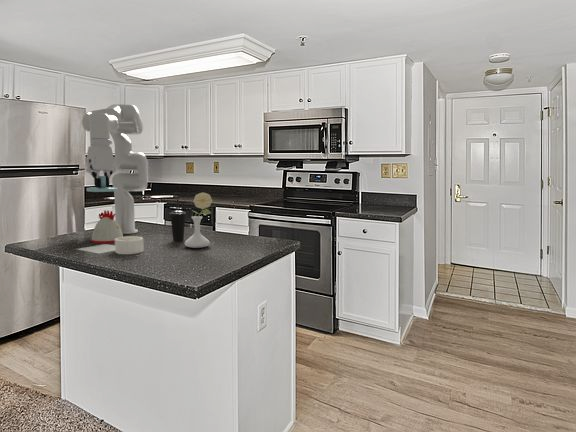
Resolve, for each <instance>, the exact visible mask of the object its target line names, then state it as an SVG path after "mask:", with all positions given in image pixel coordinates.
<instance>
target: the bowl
mask: <svg viewBox="0 0 576 432" xmlns="http://www.w3.org/2000/svg"><path fill="white" fill-rule="evenodd" d="M144 244H145V243H144V237H143V236H137V235H133V236H132V235H130V236H127V235H126V236H123V237H119V238H116V239H115V242H114V246H115V251H114V252H115V253H116V254H118V255H134V254H135V255H136V256H137V255H138V254H141V253H142V252H144V248H145V247H144Z"/></svg>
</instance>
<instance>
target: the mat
mask: <svg viewBox="0 0 576 432" xmlns="http://www.w3.org/2000/svg"><path fill="white" fill-rule="evenodd" d="M76 250H77V251H84V252H88V253H94V254H98V255H99V254H104V253H109V252H115V244H110V243H101V244H97V245H92V246H86V247H81V248H77V249H76Z"/></svg>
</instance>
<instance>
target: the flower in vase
mask: <svg viewBox="0 0 576 432" xmlns="http://www.w3.org/2000/svg"><path fill="white" fill-rule="evenodd" d="M212 202H213V199H212V197H211V195H210V193H207V192H202V191H201V192H199V193H198V194H195V196H194V199H193V203H194V205H195V206H194V207H196V208H198V209H201V211H200V212H199V213H198V212H197V211H195V210H192V209H191V208H190V209H191V211H192V212H193V213H195V214H198V216H197V215H196V216H195V215H194V216H191V219H192V220H193V225H194V232H193V234H192V235H191V236H190V237H189V238H187V239H186V240H185V242H184V245H185V247H188V248H192V249H200V248H205V247H208V246H210V244H211V242H210V240H209V239H208V238H206V237H205V235H203V234H202V233H201V230H200V229H201V228H200V226H201V220H202V219H203V216H202V215H201V214H202V213H203V215H210V214H212V212H211V211H210V209H207V208H209V207H211V204H212ZM200 215H201V216H200Z"/></svg>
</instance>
